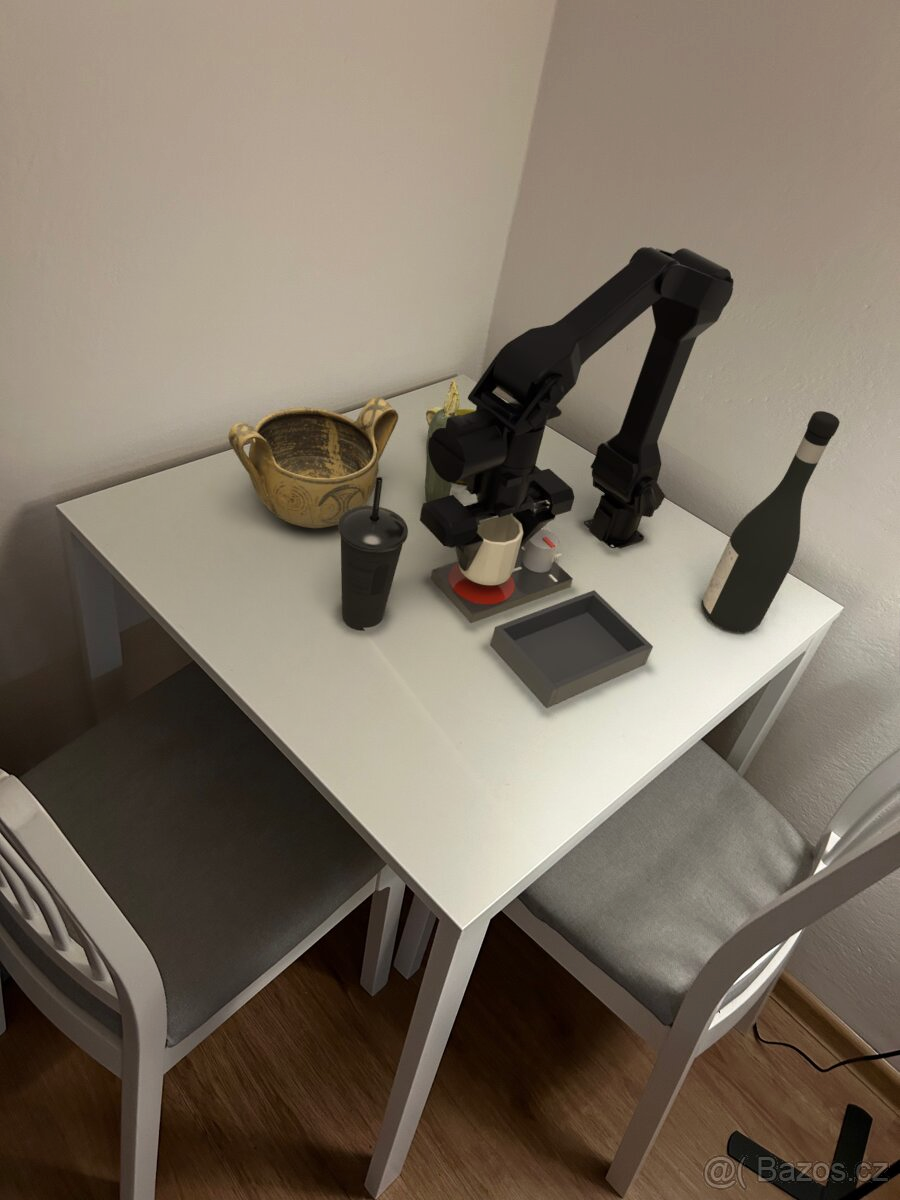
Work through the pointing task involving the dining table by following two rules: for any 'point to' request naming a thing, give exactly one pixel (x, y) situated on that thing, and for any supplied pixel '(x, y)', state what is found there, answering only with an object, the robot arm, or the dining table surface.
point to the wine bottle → (765, 541)
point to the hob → (525, 588)
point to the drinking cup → (369, 560)
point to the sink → (570, 647)
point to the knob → (540, 551)
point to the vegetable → (433, 481)
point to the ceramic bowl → (315, 460)
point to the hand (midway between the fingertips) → (486, 561)
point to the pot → (496, 551)
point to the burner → (479, 588)
